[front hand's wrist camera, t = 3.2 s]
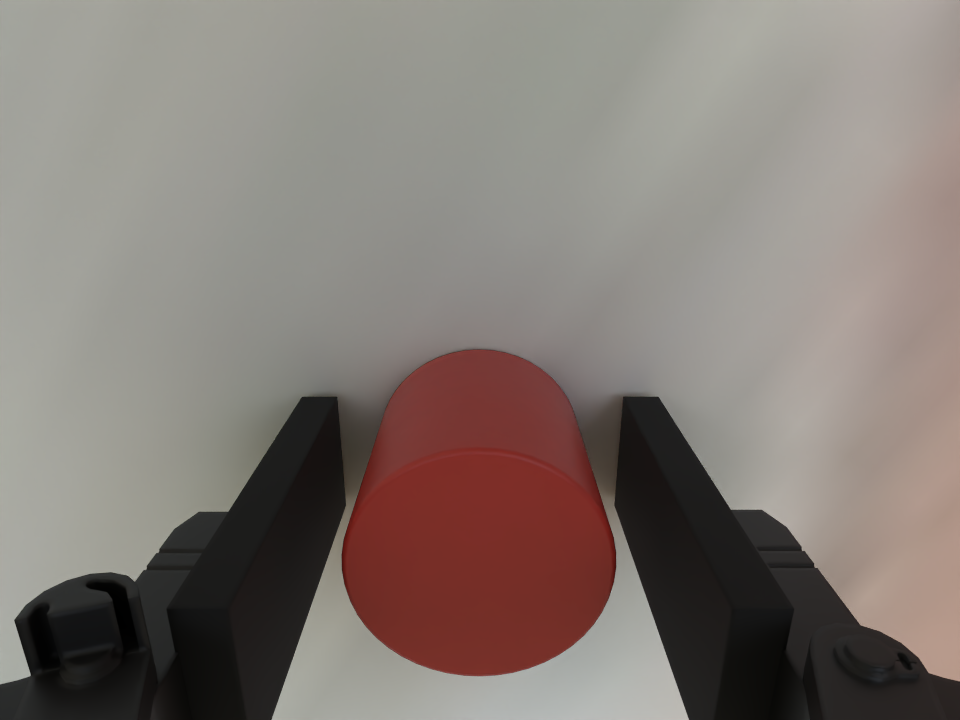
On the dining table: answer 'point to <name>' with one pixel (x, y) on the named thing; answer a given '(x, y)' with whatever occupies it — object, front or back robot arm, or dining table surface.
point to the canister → (479, 520)
